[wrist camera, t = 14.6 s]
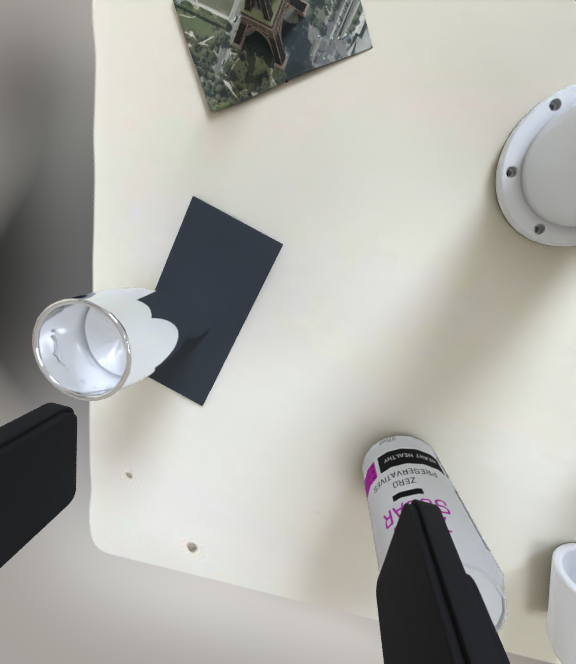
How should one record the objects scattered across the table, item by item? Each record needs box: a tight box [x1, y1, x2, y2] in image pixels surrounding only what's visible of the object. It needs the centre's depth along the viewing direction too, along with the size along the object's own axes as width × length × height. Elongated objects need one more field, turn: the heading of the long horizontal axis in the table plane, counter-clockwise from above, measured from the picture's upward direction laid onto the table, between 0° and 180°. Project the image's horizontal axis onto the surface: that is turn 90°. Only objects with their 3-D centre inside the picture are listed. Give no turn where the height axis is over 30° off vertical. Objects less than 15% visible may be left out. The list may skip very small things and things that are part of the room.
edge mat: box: [148, 196, 283, 406], centre depth 34 cm, size 20×10×1 cm, turn 152°
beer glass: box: [32, 284, 213, 401], centre depth 27 cm, size 7×7×15 cm
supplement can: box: [362, 436, 507, 633], centre depth 28 cm, size 8×8×15 cm
